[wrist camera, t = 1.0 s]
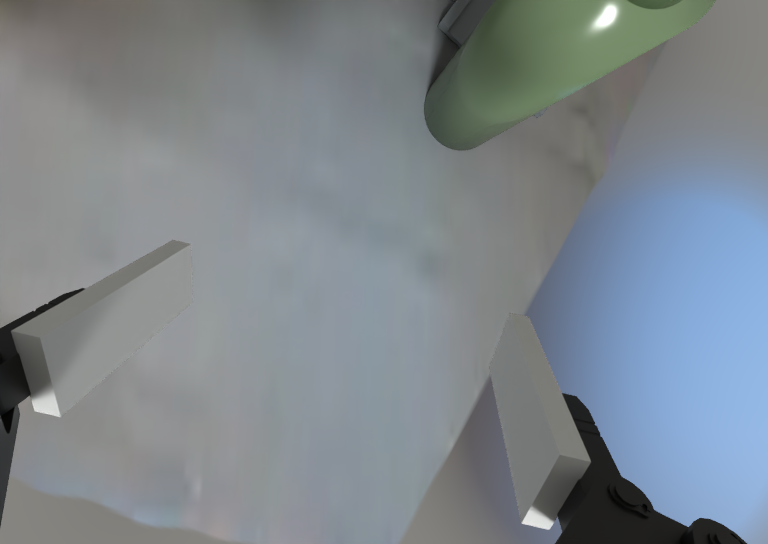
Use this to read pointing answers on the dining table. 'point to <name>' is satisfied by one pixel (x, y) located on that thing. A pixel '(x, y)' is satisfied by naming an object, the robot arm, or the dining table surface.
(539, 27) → the wine bottle
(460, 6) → the seat pad
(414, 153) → the dining table surface
